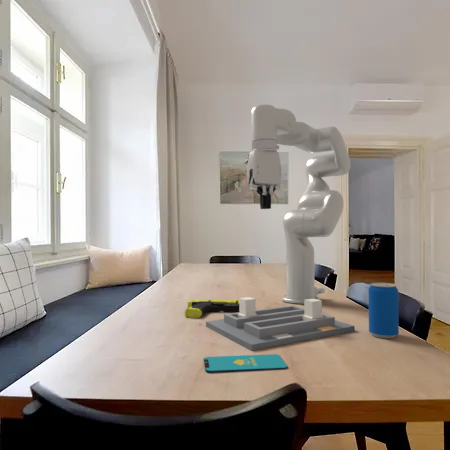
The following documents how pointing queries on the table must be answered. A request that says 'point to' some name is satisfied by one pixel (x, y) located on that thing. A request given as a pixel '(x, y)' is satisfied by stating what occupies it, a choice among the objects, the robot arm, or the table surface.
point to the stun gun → (210, 307)
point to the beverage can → (383, 310)
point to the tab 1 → (247, 307)
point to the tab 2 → (312, 309)
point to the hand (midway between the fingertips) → (265, 208)
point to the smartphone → (243, 363)
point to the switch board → (276, 327)
